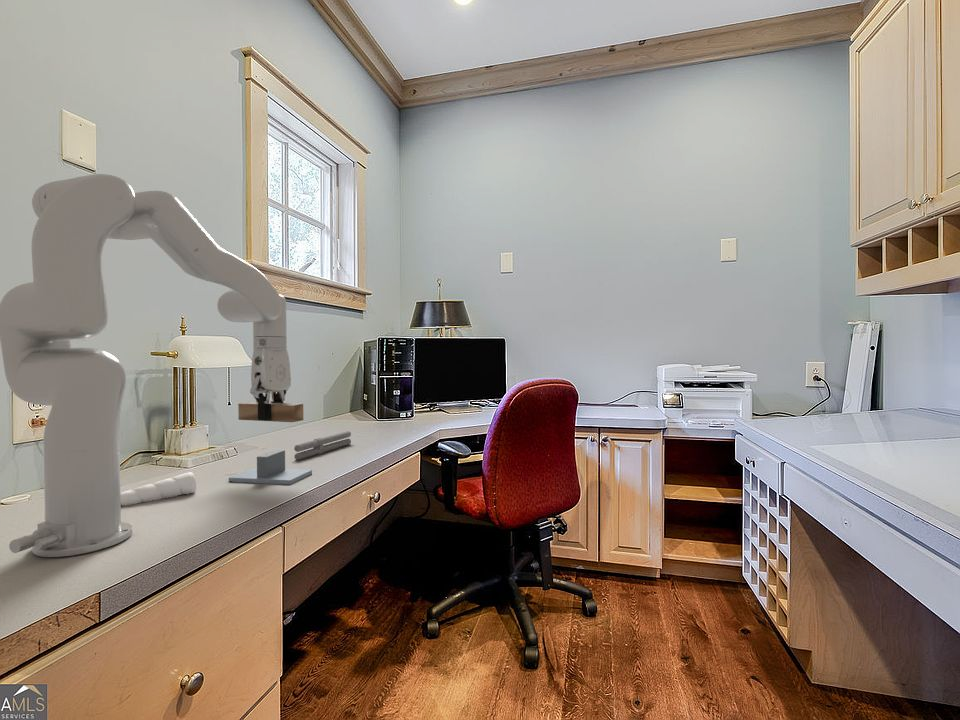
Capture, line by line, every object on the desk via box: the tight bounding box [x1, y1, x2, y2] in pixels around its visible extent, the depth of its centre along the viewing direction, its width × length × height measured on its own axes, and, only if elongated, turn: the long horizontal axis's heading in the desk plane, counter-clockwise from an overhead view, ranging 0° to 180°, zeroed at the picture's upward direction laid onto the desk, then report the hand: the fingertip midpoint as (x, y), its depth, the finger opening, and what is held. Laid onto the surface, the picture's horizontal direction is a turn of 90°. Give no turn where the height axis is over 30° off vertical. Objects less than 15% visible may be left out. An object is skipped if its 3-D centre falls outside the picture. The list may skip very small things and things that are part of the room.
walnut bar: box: [237, 401, 304, 423], centre depth 119 cm, size 4×16×4 cm, turn 72°
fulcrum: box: [228, 449, 313, 485], centre depth 119 cm, size 10×16×6 cm, turn 80°
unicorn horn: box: [120, 471, 197, 507], centre depth 99 cm, size 5×24×5 cm, turn 131°
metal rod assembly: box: [293, 430, 352, 461], centre depth 150 cm, size 26×3×5 cm, turn 161°
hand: (271, 417), depth 119 cm, fingers closed on walnut bar, 4 cm apart
